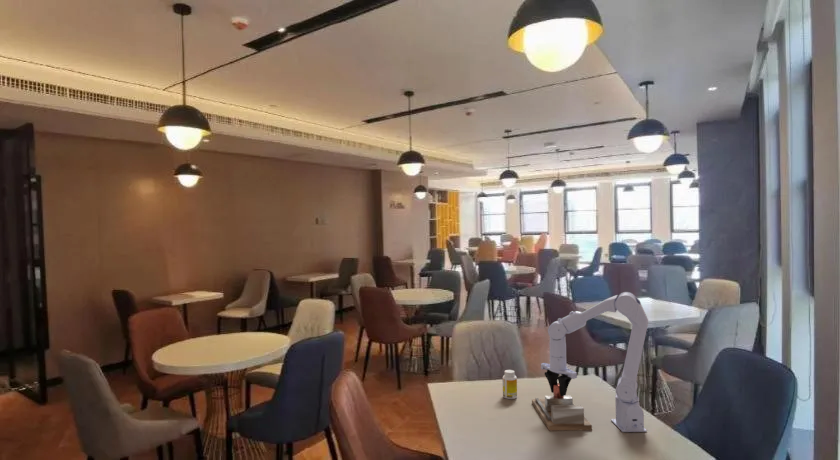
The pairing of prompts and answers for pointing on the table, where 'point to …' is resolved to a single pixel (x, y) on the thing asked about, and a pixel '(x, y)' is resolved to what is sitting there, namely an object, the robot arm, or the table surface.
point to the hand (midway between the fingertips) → (558, 393)
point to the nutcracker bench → (560, 426)
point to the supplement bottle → (509, 384)
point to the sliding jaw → (557, 398)
